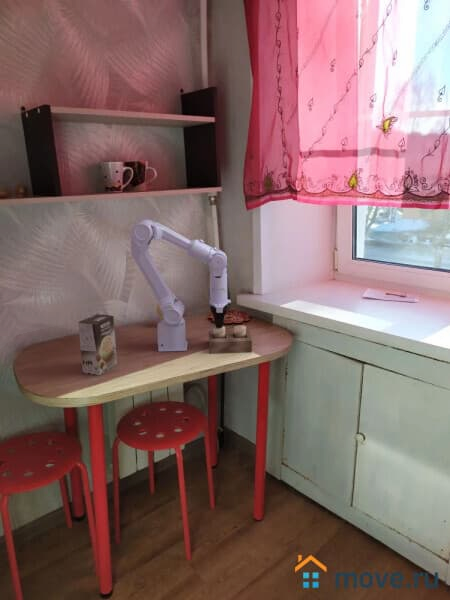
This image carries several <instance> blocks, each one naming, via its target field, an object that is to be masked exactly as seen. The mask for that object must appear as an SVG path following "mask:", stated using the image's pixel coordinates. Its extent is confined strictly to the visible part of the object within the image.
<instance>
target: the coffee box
mask: <svg viewBox="0 0 450 600" xmlns="http://www.w3.org/2000/svg"><path fill="white" fill-rule="evenodd" d="M114 320H115V318H114V315H111V314H110V315H109V314H98V313H96V314H94V315H92V316H90V317H89V316H88V317H86V318H85V319H82V320H79V321H78V322H77V323H78V325H77V326H78V332H79V345H80V346H79V347H80V354H81V355H80V357H81V367H82V368H81V369H82V373H83V372H84V374H88V373H90V374H89V375H93V374H96V375H95V376H101V375H103V374H104V373H106V372H107V371H109V370H110V368H111V369H112V368H113V366H114V367H116V366H117V365H118V359H117V349H116V348H117V347H116V332H115V321H114ZM105 371H106V372H105ZM102 373H103V374H102Z"/></svg>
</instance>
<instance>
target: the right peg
mask: <svg viewBox="0 0 450 600" xmlns="http://www.w3.org/2000/svg"><path fill="white" fill-rule="evenodd" d="M233 330H234V338H246V330H247V326H245V325H243V324H242V325H241V324H238V325H235V326H233Z"/></svg>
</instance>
